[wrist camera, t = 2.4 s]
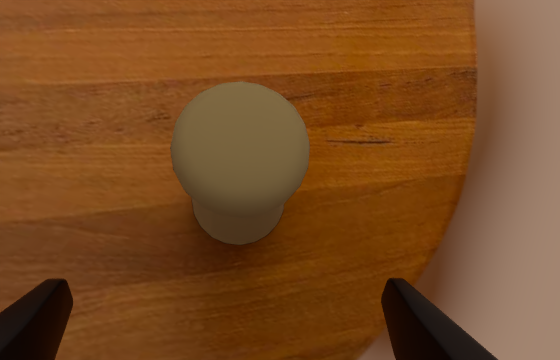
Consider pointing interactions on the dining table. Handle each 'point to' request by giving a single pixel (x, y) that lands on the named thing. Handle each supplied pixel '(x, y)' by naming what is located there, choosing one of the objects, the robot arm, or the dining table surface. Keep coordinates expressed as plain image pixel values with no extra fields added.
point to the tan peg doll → (239, 159)
